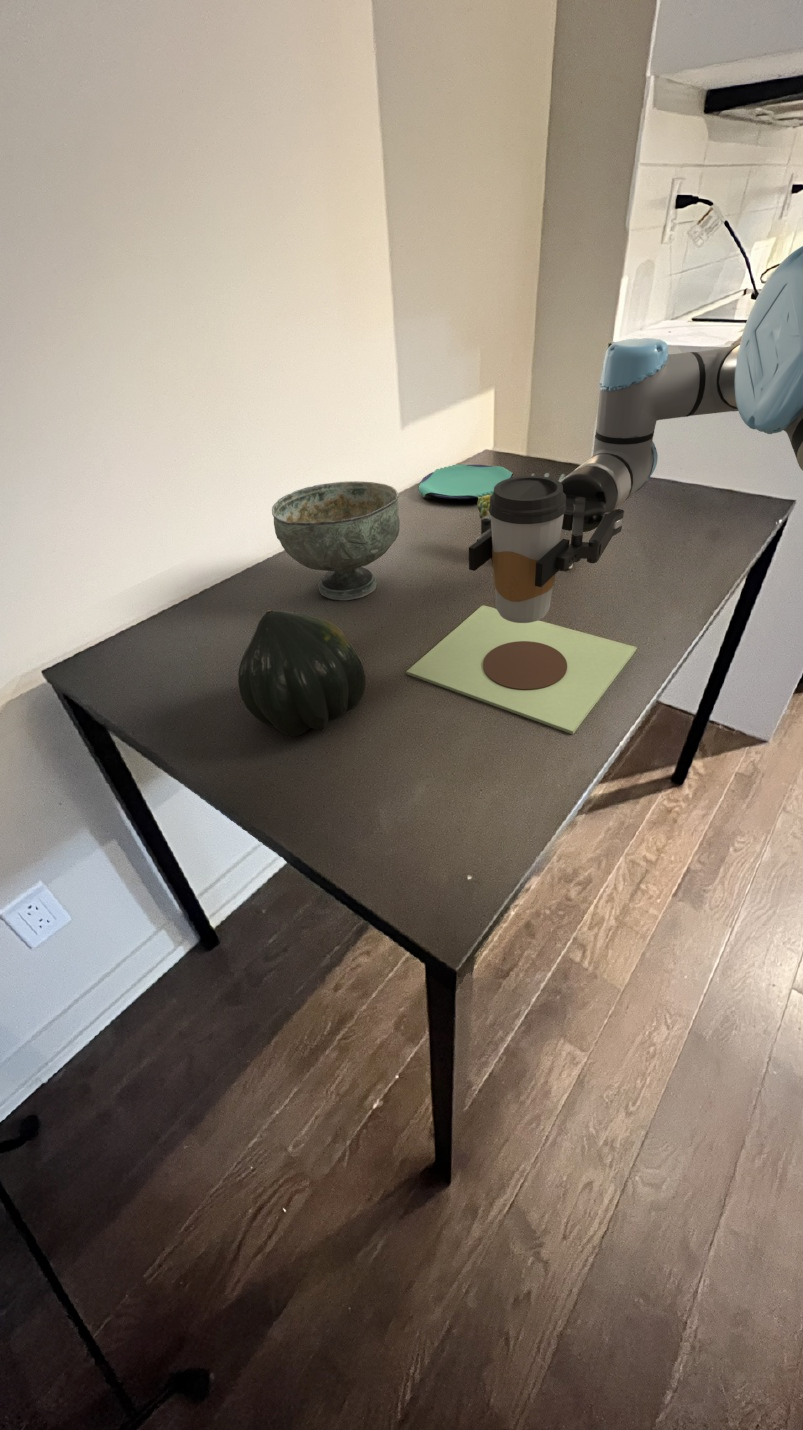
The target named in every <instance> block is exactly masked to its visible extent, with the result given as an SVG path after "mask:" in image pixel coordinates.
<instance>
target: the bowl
mask: <svg viewBox="0 0 803 1430" xmlns="http://www.w3.org/2000/svg"><path fill="white" fill-rule="evenodd" d="M399 506H400V505H399V491H398V490H397V489H396V488H395V487H393V486H392V485H388V484H386V483H382V482H375V481H363V480H361V481H360V480H357V481H356V480H355V481H354V480H353V481H352V480H351V481H350V480H344V481H335V482H328V483H321V484H314V485H312V486H306V487H304V488H300V489H296V490H294V491H293V492H290V493H287V494H285V495H284V496H281V497H280V498H278V499H277V501H276V502H274V504H273V505H272V507H271V514H272V517H273V526H274V527H273V528H274V533H275V537H276V539H277V540H278V541H279V542H280V545H281V547H282V549H283V550H284V551H285V553H287V555H289V556H290V557H291V558H292V559H293V560H294V561H296V562H297V563H298V564H300V565H302V566H304V567H306V568H308V569H311V570H316V571H326V572H327V571H328V572H327V573H325V574H324V575H323V576H322V578H321V579H320V580H319V582H318V591H319V593H320V594H321V596H323V597H325V598H327V599H329V600H337V601H350V600H351V601H352V600H355V599H361V598H363V597H366V596H368V595H369V594H371V593H372V592H374V591H375V590H376V588H377V584H378V583H377V579H376V576H375V574H373V572H372V571H371V570H370V569H368V568H366V566H368V565H370V564H372V563H373V562H376V561H377V560H378V559H379V558H381V557H383V555H385V554H386V553H387V551H388V550H389V549H390V548H391V547H392V545H393V544H394V543H395V542H396V541H397V539H398V536H399V533H400V528H401V527H400V526H401V525H400V524H401V520H400V507H399Z"/></svg>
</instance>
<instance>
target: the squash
mask: <svg viewBox="0 0 803 1430" xmlns="http://www.w3.org/2000/svg"><path fill="white" fill-rule="evenodd" d="M237 678H238V679H237V683H238V684H237V685H238V690H239V694H240V698H241V700H242V702H243V704H244V707H246V709H247V710H248V711H249V712H250V713H251V715H252V716H253V717H255V719H257V720H258V721H259V722H261V723H263V724H264V725H267V726H269V727H272V728H275V729H276V730H278V731H279V732H280V733H281V734H283V735H287V736H290V737H296V736H300V735H303V734H305V733H306V732H307V731H308V730H309V729H310V728H311V729H313V730H324V729H325V728H326V727H327V725H328V723H329V719H330V720H336V719H338V718H341V717H342V716H343V715H345V713H347V712H349V711H351V710H353V709H354V708H355V707H356V706H358V705H359V703H360V701H361V700H362V698H363V696H364V694H365V691H366V671H365V668H364V665H363V662H362V660H361V658H360V656H359V655H358V653H357V651H356V650H355V648H354V646H353V645H352V643H351V641H350V640H349V639H348V637H347V636H346V634H345V633H344V632H343V631H342V630H341V629H340V628H339V627H338V626H337V625H335V624H334V623H332V622H330V621H327V620H325V619H322V618H319V617H315V616H311V615H308V614H303V613H297V612H292V611H286V610H279V609H278V610H277V609H276V610H274V609H268V610H266V612H265V613H264V614H263V616H261V618H260V620H259V621H258V623H257V626H256V628H255V630H254V633H253V635H252V637H251V639H250V641H249V643H248V645H247V647H246V648H245V651H244V653H243V655H242V658H241V660H240V662H239V667H238V676H237Z"/></svg>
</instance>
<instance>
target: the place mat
mask: <svg viewBox="0 0 803 1430" xmlns="http://www.w3.org/2000/svg"><path fill="white" fill-rule="evenodd" d="M637 650H638V647H637V646H633V645H629V644H627V643H623V642H620V641H615V640H612V639H608V638H604V637H601V636H597V635H595V634H590V633H587V632H582V631H579V630H575V629H571V628H568V627H564V626H561V625H557V624H553V623H549V622H546V621H542V620H538V621H535V622H530V623H515V622H511V621H508V620H506V619H504V618H502V617H501V616H500V614H499V612H498V611H497V608H496V607H491V606H487V605H483V604H482V605H481V606H479V608H477V609H476V610H475V611H474V612H473V613H471V614H470V615H469V616H468V617H467V618H465V620H463V622H461V623H460V624H459V625H458V626H457V627H456V628H454V629H453V630H452V631H451V632H450V633H448V635H446V636H445V637H444V638H443V639H442V640H441V641H439V642H438V643H437V644H436V645H435V646H434V647H432V648H431V649H430V650H429V651H428V652H427V653H425V655H423V656H422V657H421V658H420V659H419V660H417V662H415V663H414V664H413V665H411V667H409V668H408V669H407V670H406V675H407V676H411V677H413V678H416V679H419V680H422V681H423V682H427V683H430V684H433V685H435V686H438V687H441V688H443V689H447V690H449V691H452V692H455V693H458V694H459V695H462V696H466V697H467V698H468V697H469V698H470V699H474V700H476V701H480V702H482V703H485V704H488V705H490V706H493V707H495V708H499V709H501V710H504V711H507V712H510V713H512V714H516V715H518V716H521V717H524V718H527V719H528V720H532V721H533V722H534V721H535V722H536V723H537V722H538V723H540V724H542V725H546V726H547V727H551V728H554V729H556V730H559V731H562V732H565V733H567V734H570V735H574V734H575V732H576V731H577V730H578V728H579V727H580V726H581V724H582V723H583V721H584V720H585V719H586V718H587V717H588V715H589V714H590V712H591V711H592V710H593V708H594V707H595V705H597V703H598V702H599V700H600V699H601V698H602V697H603V695H604V694H605V692H607V690H608V689H609V687H610V686H611V685H612V683H613V682H614V680H615V679H616V678H617V677H618V675H619V674H620V673H621V672H622V670H623V668H624V667H625V666H626V665H627V663H629V661H630V659H631V658H632V657H633V656H634V654H635V653H636V652H637Z"/></svg>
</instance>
